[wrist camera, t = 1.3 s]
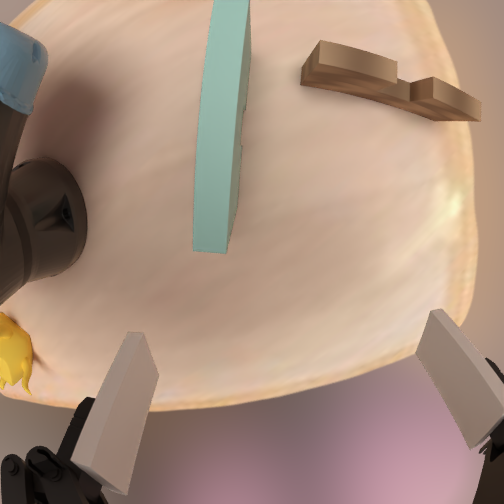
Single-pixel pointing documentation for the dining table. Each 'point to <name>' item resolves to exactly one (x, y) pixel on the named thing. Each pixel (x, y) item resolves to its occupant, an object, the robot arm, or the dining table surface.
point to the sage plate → (221, 125)
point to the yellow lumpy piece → (14, 354)
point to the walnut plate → (385, 83)
